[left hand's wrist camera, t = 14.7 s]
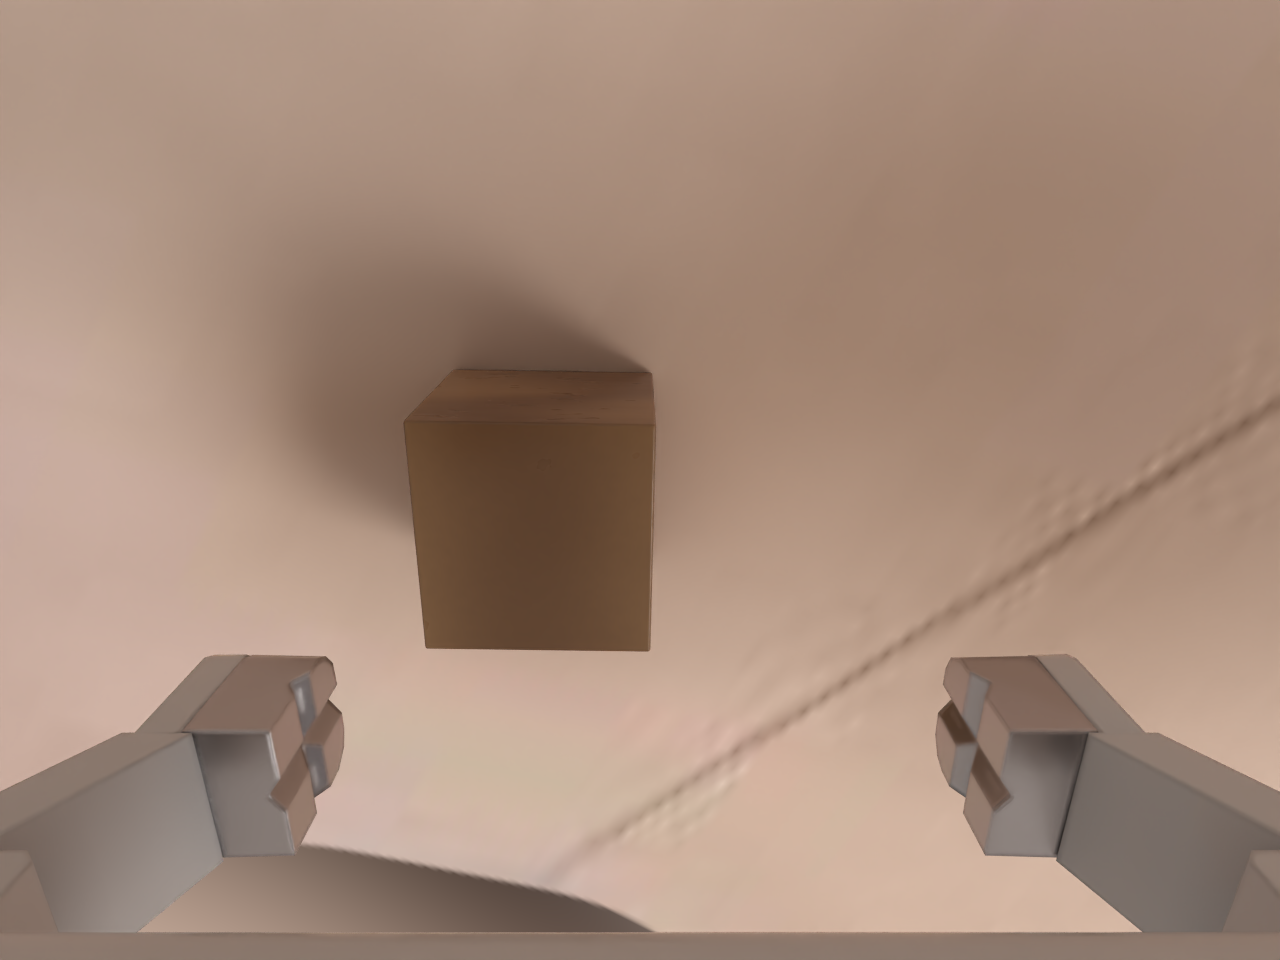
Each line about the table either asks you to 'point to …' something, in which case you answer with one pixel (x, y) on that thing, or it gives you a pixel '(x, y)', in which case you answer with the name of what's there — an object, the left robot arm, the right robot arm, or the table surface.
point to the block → (534, 509)
